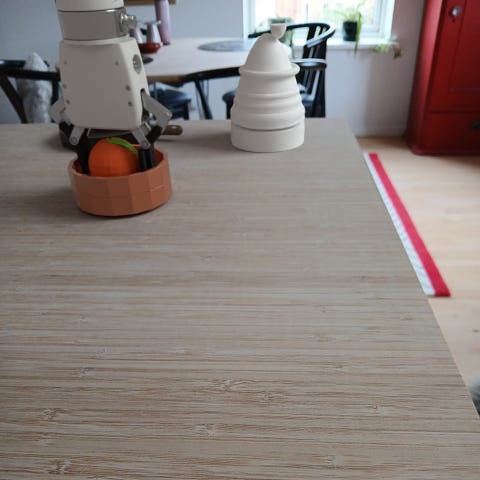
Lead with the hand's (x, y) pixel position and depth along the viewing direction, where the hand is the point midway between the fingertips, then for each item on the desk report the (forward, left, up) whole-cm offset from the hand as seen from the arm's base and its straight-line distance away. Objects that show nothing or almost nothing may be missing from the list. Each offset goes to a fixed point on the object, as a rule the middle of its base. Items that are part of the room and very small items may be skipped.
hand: (118, 172), depth 70 cm
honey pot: (+15, +28, -4) cm, 32 cm away
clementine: (0, 0, -3) cm, 3 cm away
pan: (-11, +26, -4) cm, 29 cm away
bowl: (0, 0, -4) cm, 4 cm away
